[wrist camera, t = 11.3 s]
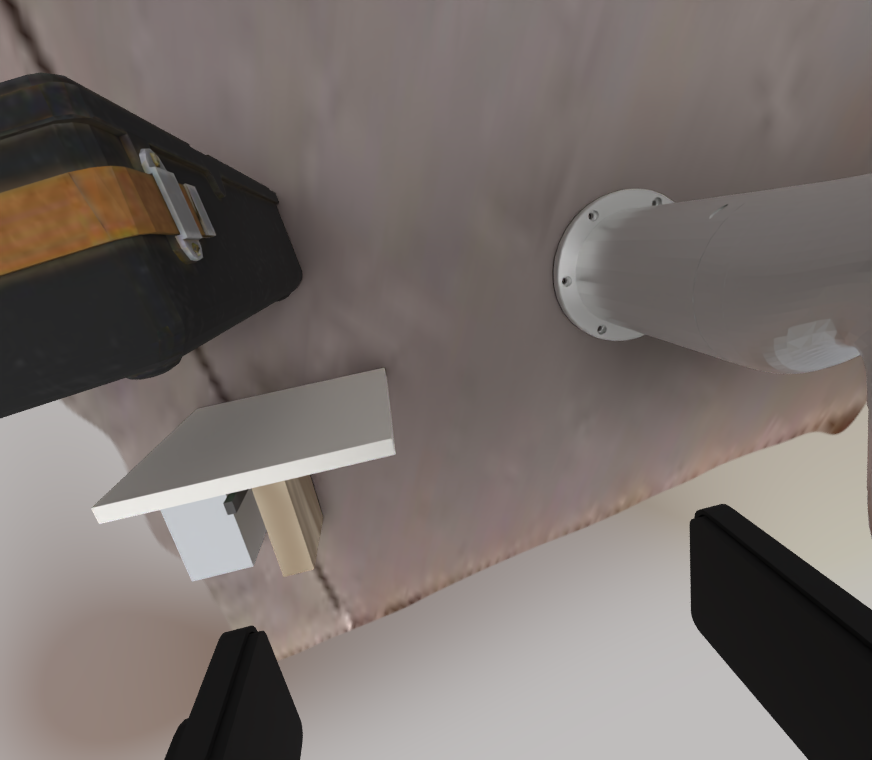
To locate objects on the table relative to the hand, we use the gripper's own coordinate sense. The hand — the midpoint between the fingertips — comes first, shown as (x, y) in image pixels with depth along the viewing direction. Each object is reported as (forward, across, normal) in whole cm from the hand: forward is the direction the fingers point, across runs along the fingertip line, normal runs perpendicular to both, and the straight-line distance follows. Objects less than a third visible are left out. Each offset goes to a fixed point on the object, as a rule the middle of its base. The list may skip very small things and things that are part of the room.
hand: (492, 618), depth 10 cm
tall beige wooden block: (+30, +12, +10) cm, 34 cm away
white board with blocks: (+30, +11, +9) cm, 34 cm away
